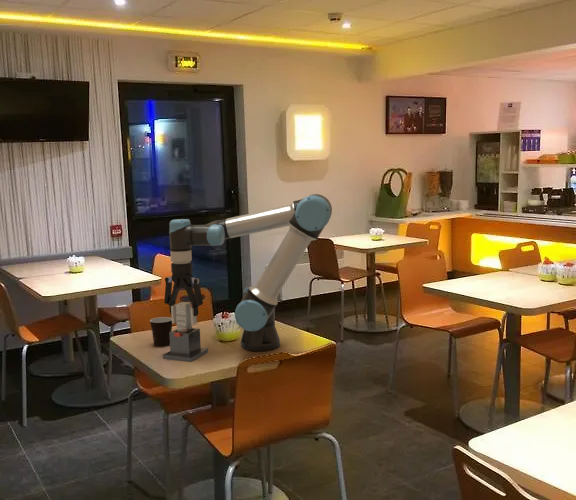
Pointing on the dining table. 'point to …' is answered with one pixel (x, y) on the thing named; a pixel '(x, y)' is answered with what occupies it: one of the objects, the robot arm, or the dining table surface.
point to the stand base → (185, 346)
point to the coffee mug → (161, 331)
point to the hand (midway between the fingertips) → (184, 323)
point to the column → (183, 317)
